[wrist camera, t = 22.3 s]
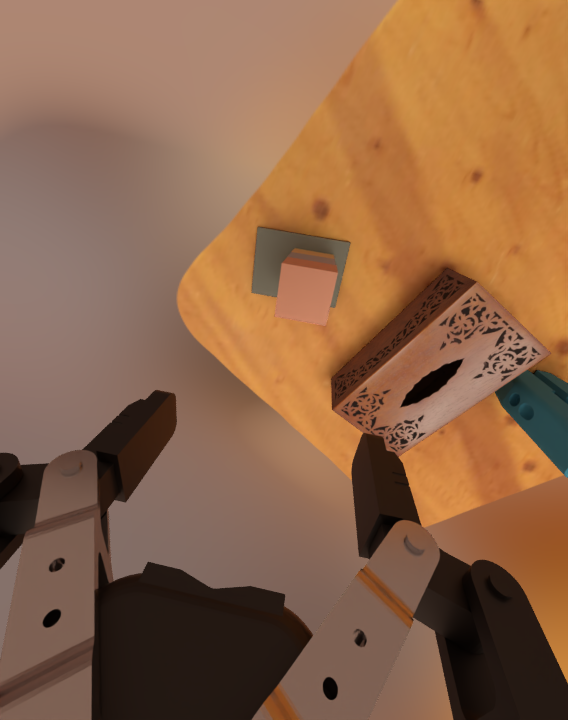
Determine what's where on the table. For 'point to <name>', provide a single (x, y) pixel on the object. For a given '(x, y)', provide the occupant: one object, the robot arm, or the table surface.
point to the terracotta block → (305, 290)
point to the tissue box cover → (433, 363)
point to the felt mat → (277, 248)
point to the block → (540, 412)
